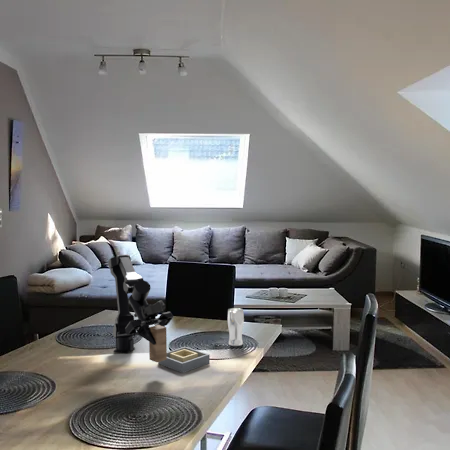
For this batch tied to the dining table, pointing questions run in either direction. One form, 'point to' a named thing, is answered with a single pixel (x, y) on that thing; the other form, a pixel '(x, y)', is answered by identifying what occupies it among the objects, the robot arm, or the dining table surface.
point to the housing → (185, 359)
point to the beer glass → (235, 326)
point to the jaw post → (158, 344)
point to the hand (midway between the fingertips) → (160, 342)
